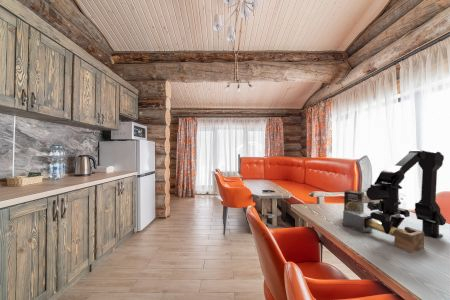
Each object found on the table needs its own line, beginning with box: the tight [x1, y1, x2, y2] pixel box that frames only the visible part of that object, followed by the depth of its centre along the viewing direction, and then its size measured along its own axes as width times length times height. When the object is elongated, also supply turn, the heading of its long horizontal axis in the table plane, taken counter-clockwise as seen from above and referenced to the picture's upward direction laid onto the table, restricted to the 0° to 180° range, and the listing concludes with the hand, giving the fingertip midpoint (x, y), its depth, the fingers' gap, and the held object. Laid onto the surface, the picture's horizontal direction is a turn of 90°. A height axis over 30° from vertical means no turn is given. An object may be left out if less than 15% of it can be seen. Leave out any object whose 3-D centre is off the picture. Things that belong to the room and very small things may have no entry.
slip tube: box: [365, 218, 408, 238], centre depth 97 cm, size 4×20×4 cm, turn 23°
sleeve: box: [342, 209, 373, 234], centre depth 108 cm, size 7×11×8 cm, turn 23°
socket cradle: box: [394, 226, 425, 254], centre depth 87 cm, size 9×6×7 cm, turn 113°
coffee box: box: [343, 189, 365, 213], centre depth 121 cm, size 9×6×16 cm
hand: (389, 233), depth 94 cm, fingers closed on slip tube, 4 cm apart
